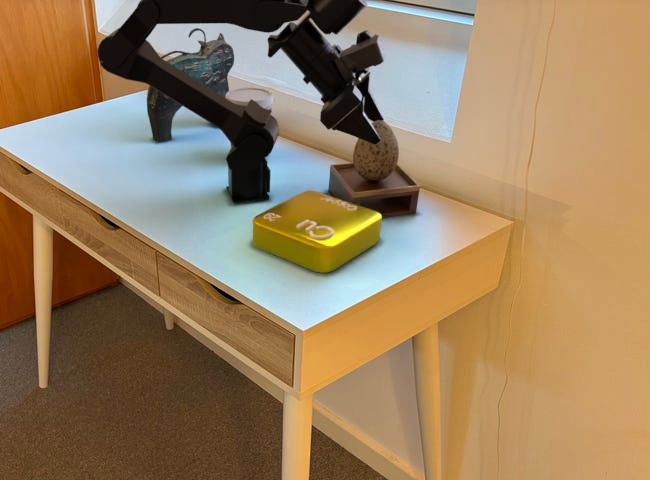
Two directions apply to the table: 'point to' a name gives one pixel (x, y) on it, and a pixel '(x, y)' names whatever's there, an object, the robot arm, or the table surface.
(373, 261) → the table surface
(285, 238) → the element tile
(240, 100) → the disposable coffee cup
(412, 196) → the shallow square tray
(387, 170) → the decorative egg
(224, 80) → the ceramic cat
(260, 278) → the table surface
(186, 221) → the table surface
